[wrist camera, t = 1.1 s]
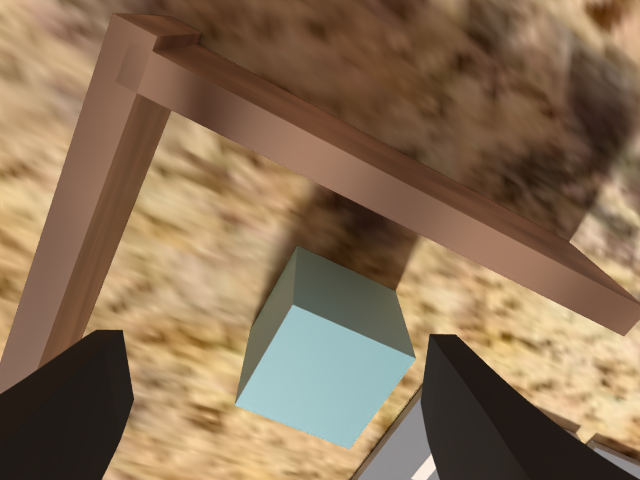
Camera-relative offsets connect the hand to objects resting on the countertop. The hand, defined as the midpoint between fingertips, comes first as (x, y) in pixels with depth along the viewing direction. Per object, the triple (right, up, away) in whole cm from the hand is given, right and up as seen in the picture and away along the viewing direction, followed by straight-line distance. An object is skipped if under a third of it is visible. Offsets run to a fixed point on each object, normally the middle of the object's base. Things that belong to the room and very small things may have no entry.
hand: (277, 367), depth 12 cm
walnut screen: (0, 0, +11) cm, 11 cm away
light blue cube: (+1, 0, +11) cm, 11 cm away
